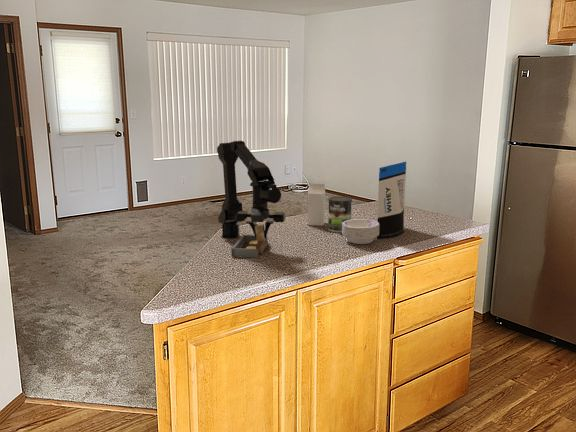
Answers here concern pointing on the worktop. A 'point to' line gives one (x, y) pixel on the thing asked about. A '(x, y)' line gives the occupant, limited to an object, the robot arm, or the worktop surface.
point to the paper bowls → (360, 230)
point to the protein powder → (391, 200)
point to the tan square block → (253, 243)
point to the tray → (242, 252)
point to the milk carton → (316, 204)
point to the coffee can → (338, 212)
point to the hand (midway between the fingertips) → (260, 238)
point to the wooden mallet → (260, 238)
